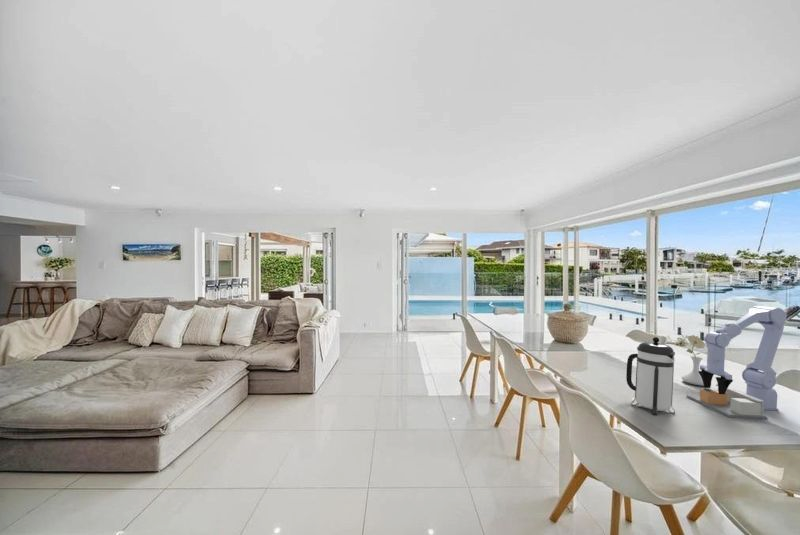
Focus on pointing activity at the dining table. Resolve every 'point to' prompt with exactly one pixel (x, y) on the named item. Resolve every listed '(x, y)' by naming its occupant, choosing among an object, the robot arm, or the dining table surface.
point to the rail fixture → (737, 405)
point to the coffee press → (653, 376)
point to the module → (713, 397)
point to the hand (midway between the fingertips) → (714, 390)
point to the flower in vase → (694, 362)
